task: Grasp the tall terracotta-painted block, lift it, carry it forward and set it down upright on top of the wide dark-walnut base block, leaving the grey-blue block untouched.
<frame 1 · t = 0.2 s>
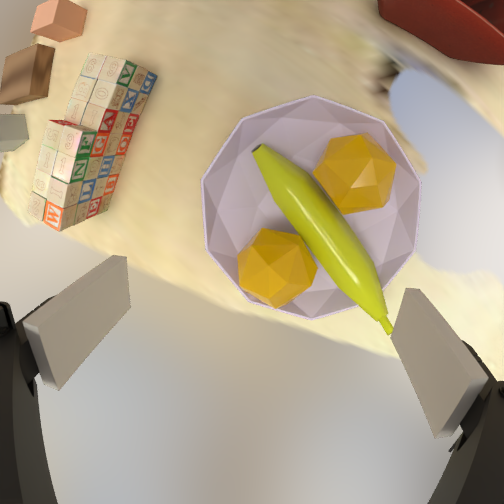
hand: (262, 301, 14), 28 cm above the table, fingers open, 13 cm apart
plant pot: (425, 8, 28), on the table
greyblue block: (19, 132, 40), on the table
walnut base: (34, 77, 37), on the table
stack of blocks: (113, 138, 39), on the table
fruit bowl: (313, 213, 40), on the table
terracotta block: (73, 26, 33), on the table
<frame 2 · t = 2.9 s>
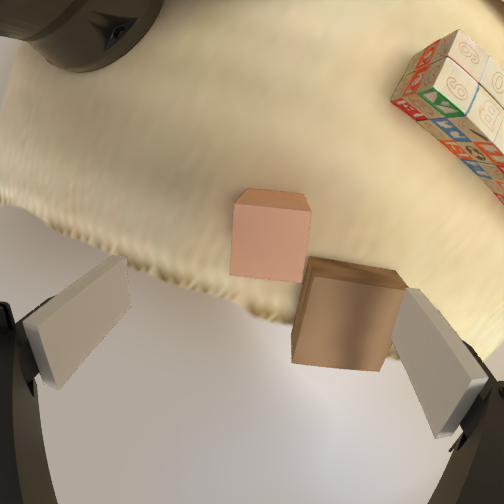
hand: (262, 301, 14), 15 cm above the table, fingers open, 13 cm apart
walnut base: (342, 303, 30), on the table
stack of blocks: (478, 144, 23), on the table
terracotta block: (273, 218, 28), on the table
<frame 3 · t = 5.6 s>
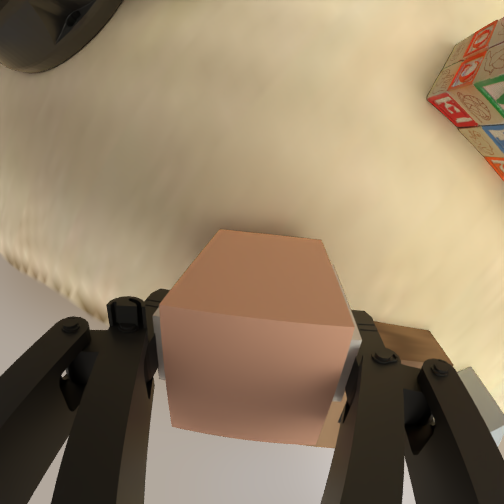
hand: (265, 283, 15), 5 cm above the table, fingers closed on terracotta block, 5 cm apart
greyblue block: (445, 393, 22), on the table
walnut base: (359, 368, 22), on the table
terracotta block: (265, 281, 16), point 5 cm above the table, touching gripper
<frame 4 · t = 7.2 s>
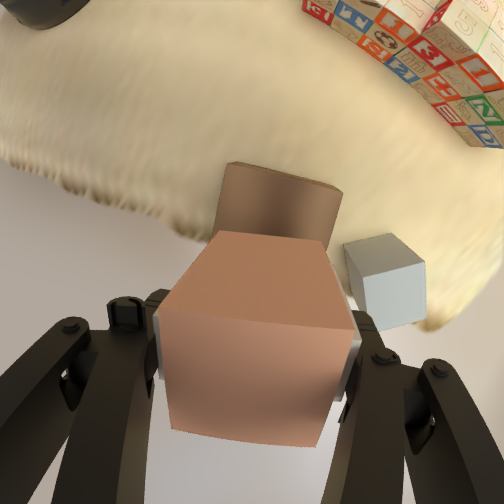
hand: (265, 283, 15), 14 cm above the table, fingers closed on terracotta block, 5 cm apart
greyblue block: (371, 262, 29), on the table
walnut base: (273, 219, 29), on the table
stack of blocks: (408, 54, 22), on the table
terracotta block: (265, 282, 16), point 13 cm above the table, touching gripper
when the fingers open (6 cm above the table, at t = 8.8 s): terracotta block stays where it is, resting on walnut base.
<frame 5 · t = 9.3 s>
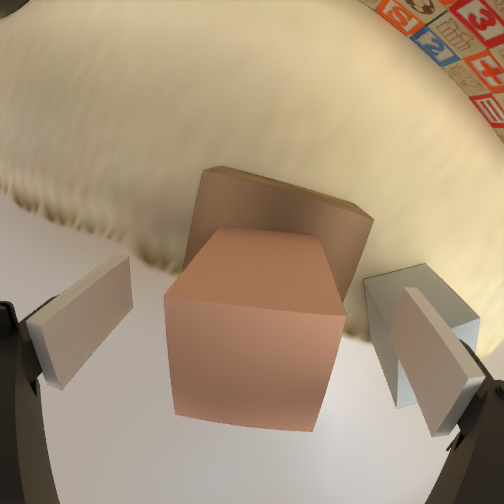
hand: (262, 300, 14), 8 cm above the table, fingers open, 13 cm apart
greyblue block: (397, 301, 21), on the table, touching gripper
walnut base: (270, 247, 21), on the table, touching terracotta block
stack of blocks: (440, 32, 15), on the table
terracotta block: (264, 276, 16), point 5 cm above the table, touching walnut base
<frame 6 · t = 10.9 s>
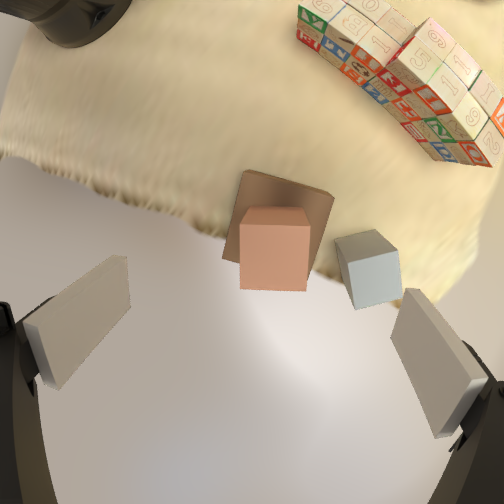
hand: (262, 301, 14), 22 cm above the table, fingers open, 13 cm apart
greyblue block: (358, 254, 35), on the table
walnut base: (277, 218, 35), on the table
stack of blocks: (384, 79, 28), on the table
terracotta block: (275, 231, 30), point 5 cm above the table
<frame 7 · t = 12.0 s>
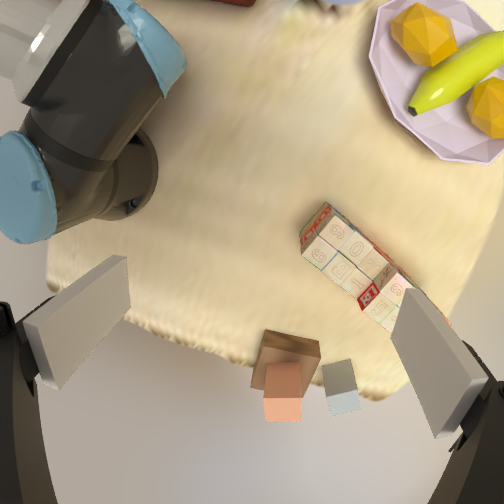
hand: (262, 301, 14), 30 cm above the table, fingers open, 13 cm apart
greyblue block: (338, 372, 50), on the table
walnut base: (285, 355, 50), on the table, touching terracotta block
stack of blocks: (364, 262, 44), on the table
fruit bowl: (446, 77, 34), on the table
terracotta block: (284, 374, 46), point 5 cm above the table, touching walnut base
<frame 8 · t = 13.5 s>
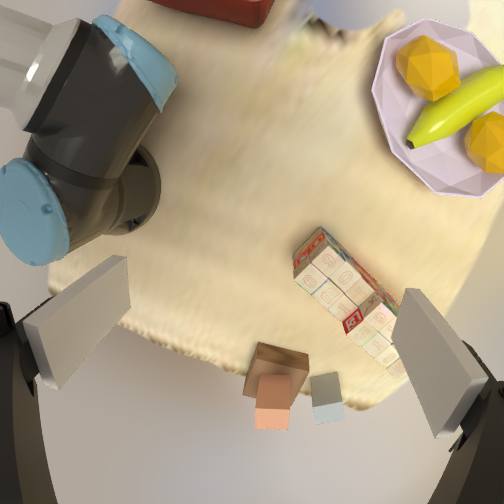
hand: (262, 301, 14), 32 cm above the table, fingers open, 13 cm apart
greyblue block: (325, 383, 53), on the table
walnut base: (275, 366, 53), on the table
stack of blocks: (352, 284, 47), on the table
fruit bowl: (446, 108, 36), on the table
terracotta block: (274, 385, 49), point 5 cm above the table
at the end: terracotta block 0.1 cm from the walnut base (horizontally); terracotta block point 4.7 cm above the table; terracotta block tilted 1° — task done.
